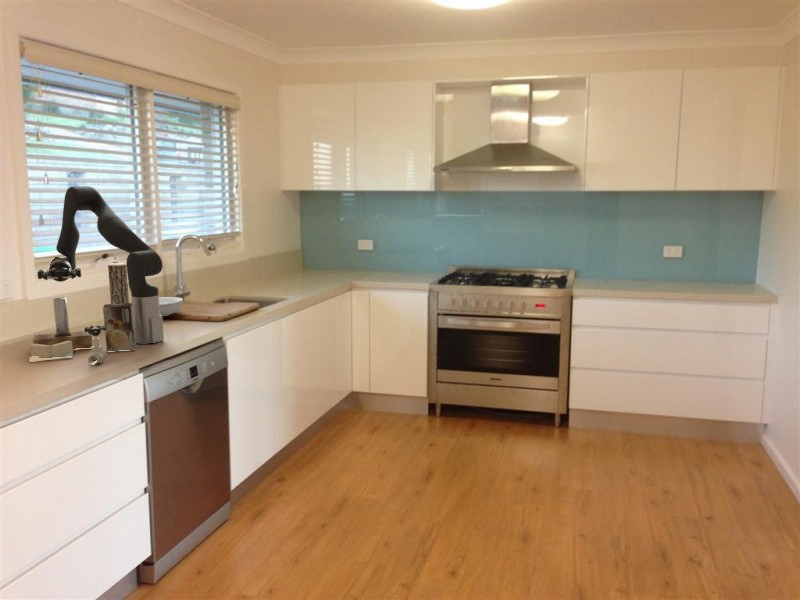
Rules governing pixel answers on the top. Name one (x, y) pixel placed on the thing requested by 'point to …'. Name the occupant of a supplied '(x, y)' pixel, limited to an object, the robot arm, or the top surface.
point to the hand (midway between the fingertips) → (59, 276)
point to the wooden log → (118, 283)
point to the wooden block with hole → (66, 339)
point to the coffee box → (119, 327)
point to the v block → (52, 350)
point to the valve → (96, 344)
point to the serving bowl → (169, 305)
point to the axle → (61, 317)
